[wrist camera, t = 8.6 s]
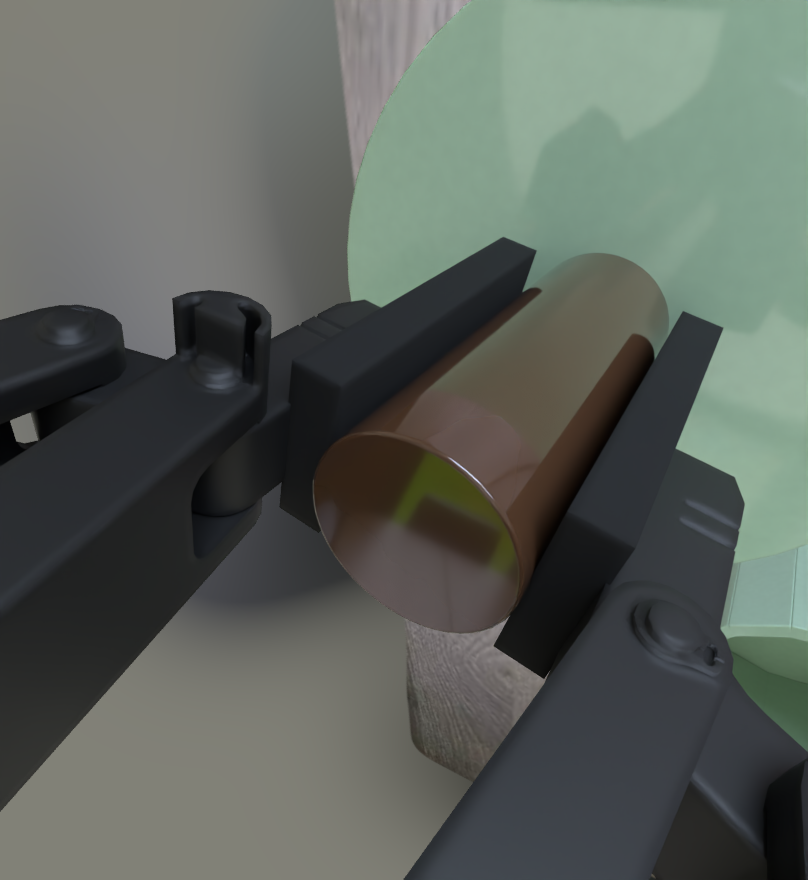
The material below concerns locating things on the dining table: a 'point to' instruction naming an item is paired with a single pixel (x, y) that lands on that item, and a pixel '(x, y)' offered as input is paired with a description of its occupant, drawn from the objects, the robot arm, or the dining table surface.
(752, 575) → the pot
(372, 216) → the lid
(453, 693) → the dining table surface
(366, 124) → the dining table surface
